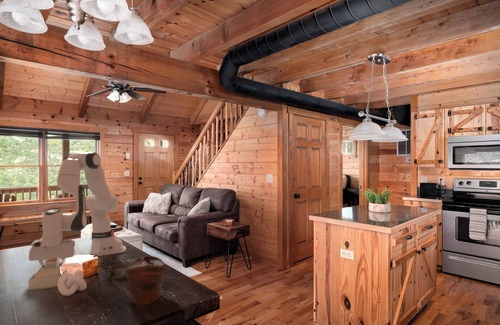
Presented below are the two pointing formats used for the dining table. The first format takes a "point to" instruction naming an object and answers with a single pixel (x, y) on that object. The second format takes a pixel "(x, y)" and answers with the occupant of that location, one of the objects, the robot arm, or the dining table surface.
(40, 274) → the beige rectangular block
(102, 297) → the dining table surface
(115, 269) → the beverage carton
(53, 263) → the copper capped metal stub
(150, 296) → the brown bucket
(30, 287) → the tote
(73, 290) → the pretzel
